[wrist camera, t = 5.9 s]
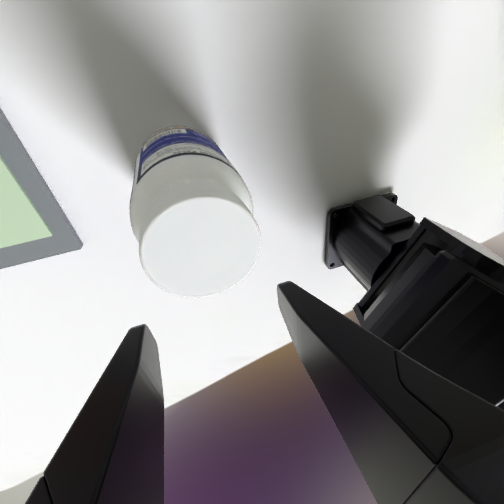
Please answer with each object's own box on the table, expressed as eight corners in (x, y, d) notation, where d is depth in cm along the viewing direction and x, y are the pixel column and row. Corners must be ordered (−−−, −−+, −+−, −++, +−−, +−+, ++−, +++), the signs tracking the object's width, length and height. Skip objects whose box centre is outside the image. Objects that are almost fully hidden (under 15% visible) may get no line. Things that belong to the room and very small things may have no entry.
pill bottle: (206, 219, 21) (237, 316, 13) (126, 194, 18) (103, 297, 10) (238, 147, 18) (299, 212, 11) (151, 106, 16) (148, 153, 8)
